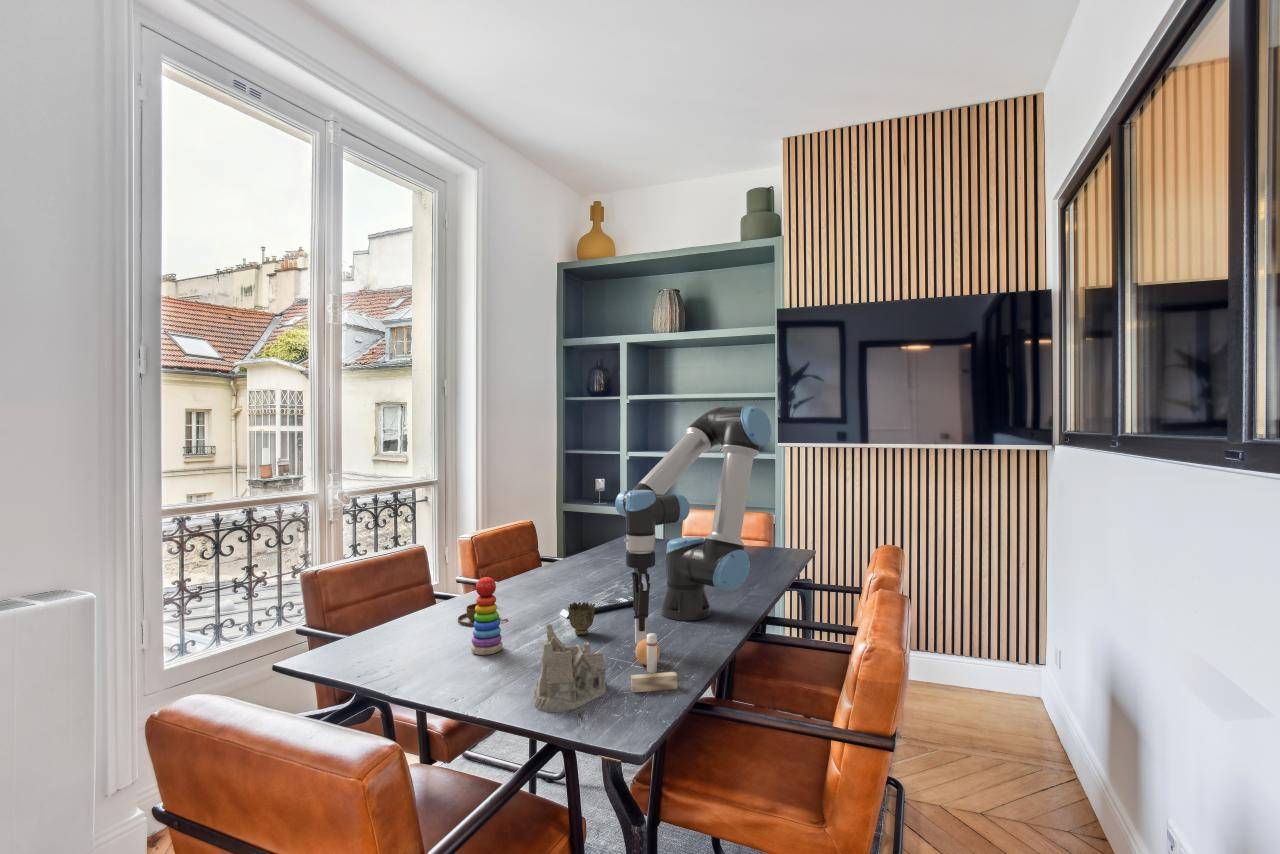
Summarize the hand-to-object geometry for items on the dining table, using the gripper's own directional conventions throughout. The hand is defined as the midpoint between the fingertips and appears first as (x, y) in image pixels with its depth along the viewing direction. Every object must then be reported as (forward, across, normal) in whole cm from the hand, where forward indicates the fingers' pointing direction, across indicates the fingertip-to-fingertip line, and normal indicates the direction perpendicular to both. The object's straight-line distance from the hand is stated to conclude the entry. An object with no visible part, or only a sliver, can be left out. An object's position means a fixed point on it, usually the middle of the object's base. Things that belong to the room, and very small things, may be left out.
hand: (640, 642), depth 162 cm
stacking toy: (+2, -7, -39) cm, 40 cm away
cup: (+2, -15, -14) cm, 21 cm away
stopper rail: (+2, +24, -1) cm, 24 cm away
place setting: (+3, -36, -41) cm, 55 cm away
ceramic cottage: (+2, +24, -20) cm, 31 cm away
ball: (-1, +10, 0) cm, 10 cm away
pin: (+2, +14, 0) cm, 14 cm away
